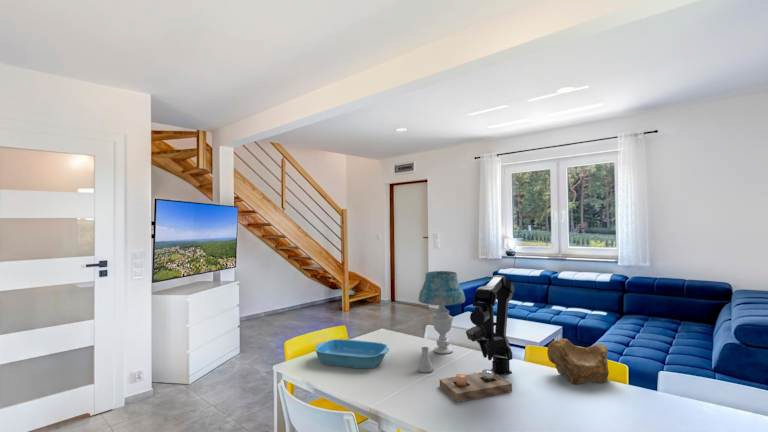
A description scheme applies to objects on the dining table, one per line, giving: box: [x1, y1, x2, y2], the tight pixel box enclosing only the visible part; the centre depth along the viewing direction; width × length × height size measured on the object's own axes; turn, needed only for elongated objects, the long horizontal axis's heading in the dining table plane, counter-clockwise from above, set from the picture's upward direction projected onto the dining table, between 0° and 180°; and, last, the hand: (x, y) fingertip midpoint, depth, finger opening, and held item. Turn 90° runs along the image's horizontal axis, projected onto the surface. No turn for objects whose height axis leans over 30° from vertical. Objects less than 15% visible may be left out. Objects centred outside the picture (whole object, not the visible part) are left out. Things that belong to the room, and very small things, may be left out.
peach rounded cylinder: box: [455, 373, 468, 387], centre depth 148 cm, size 4×4×3 cm
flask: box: [417, 346, 434, 374], centre depth 170 cm, size 7×7×10 cm
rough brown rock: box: [547, 338, 610, 385], centre depth 156 cm, size 23×17×15 cm
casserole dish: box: [315, 338, 390, 370], centre depth 184 cm, size 37×22×7 cm, turn 72°
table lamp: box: [418, 270, 466, 355], centre depth 196 cm, size 24×24×40 cm
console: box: [438, 371, 513, 402], centre depth 150 cm, size 24×14×3 cm, turn 108°
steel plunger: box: [481, 368, 495, 382], centre depth 152 cm, size 4×4×3 cm
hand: (487, 358), depth 152 cm, fingers open, 3 cm apart
